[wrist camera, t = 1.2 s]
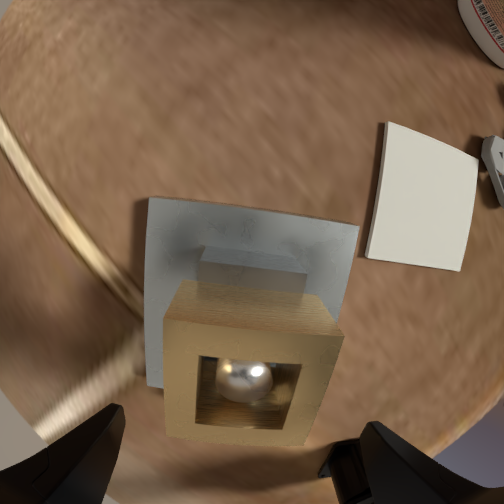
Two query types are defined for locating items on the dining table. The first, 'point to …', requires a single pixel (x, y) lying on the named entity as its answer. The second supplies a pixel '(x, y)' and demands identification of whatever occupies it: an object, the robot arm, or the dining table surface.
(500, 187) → the pulley system
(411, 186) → the felt mat
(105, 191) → the dining table surface
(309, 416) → the brass collar
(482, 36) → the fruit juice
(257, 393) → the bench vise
